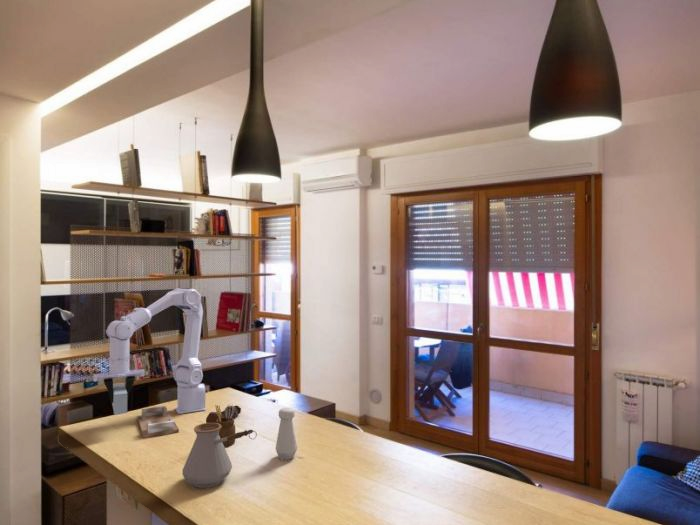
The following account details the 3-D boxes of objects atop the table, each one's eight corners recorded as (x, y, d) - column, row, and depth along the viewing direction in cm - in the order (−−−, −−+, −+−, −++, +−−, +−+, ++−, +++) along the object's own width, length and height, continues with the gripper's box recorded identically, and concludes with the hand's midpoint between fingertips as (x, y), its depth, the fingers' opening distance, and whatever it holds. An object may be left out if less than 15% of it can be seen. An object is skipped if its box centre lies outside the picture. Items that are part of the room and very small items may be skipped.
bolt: (239, 420, 161) (214, 433, 146) (228, 412, 162) (202, 424, 148) (247, 406, 160) (222, 418, 146) (236, 398, 161) (211, 409, 147)
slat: (123, 400, 154) (123, 382, 154) (127, 412, 141) (127, 393, 141) (111, 402, 152) (112, 384, 152) (114, 414, 139) (114, 394, 139)
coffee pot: (171, 483, 109) (172, 420, 109) (210, 466, 119) (211, 408, 119) (234, 509, 97) (234, 438, 98) (271, 487, 107) (272, 423, 107)
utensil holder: (239, 441, 135) (239, 401, 136) (224, 449, 130) (225, 406, 130) (224, 438, 138) (224, 398, 138) (209, 445, 133) (209, 403, 133)
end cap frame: (168, 414, 161) (168, 404, 161) (178, 432, 143) (178, 421, 143) (137, 419, 156) (137, 409, 156) (143, 438, 138) (143, 426, 138)
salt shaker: (293, 462, 121) (293, 412, 121) (272, 460, 122) (272, 411, 122) (299, 453, 127) (299, 406, 127) (280, 452, 128) (280, 405, 128)
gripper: (93, 362, 139) (93, 407, 139) (145, 358, 147) (145, 400, 146) (93, 359, 145) (93, 401, 145) (143, 354, 153) (143, 395, 152)
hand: (119, 401), depth 146 cm, fingers closed on slat, 3 cm apart
